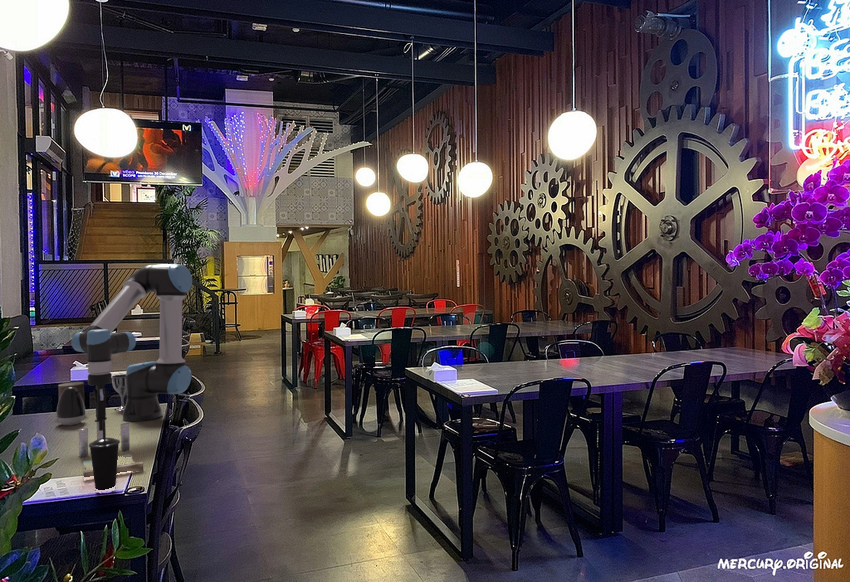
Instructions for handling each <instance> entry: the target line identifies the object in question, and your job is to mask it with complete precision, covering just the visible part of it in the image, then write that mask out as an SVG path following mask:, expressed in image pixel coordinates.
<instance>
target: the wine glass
mask: <svg viewBox="0 0 850 582" xmlns="http://www.w3.org/2000/svg"><path fill="white" fill-rule="evenodd" d="M111 384H112V387H113V389H114V390H115V392H117V393H118V394H119V396H120V401H121V402H120V403H121V405H120V406H119V407H116V408H117V409H124V408H125V404H124V402H125V401H124V400H125V399H124V398H125V395H126V394H127V386H126V374H125V373H123V374H115V375H112V382H111Z"/></svg>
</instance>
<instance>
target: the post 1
mask: <svg viewBox="0 0 850 582" xmlns="http://www.w3.org/2000/svg"><path fill="white" fill-rule="evenodd" d="M88 432H89V430H88V428H87V427H85V428H84V427H83V428H79V429H78V445H79V446H78V450H79V451H78V455H79V458H85V457H88V456H89V433H88Z"/></svg>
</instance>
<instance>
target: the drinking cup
mask: <svg viewBox="0 0 850 582" xmlns="http://www.w3.org/2000/svg"><path fill="white" fill-rule="evenodd" d="M102 421H103V438H101V439H98V440H97V439H95V440H94V441H91V442H89V443H88V448H89V449H90V456H91V457H90V458H91V459H90V460H92V467H93V474H94V480H93V483H94V488H96V489H98V490H105V489H109V488H112V487H114V486H115V485H117V476H116V474H117V460H118V456H119V445H120V444H121V440H119V439H117V438H113V437H106V435H107V434H106V433H107V432H106V431H107V430H106V431H105V426H106V420H102Z"/></svg>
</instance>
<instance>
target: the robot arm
mask: <svg viewBox="0 0 850 582" xmlns="http://www.w3.org/2000/svg"><path fill="white" fill-rule="evenodd" d="M192 285H193V277H192V274H191V271H190V270H189V269H188V267H187V266H186V265H183V264H181V263H180V264H177V263H169V264H168V263H167V264H163V263H162V264H161V263H160V264H157V263H156V264H154V263H153V264H148V265H145V266H142V267H140V268H139V269H137V270H136V271H135V272H133V273H132V274H131V275H130V276H128V278H127V279H126V280H124V282H123V284H122V289H121V290H120V291H119V292H118V293H117V294H116V296H114V298H113V299H112V300H111V301H110V302H109V303H108V304H107V305H106V306H105V308H104V309H103V310H102V311H101V312H100V314H99V315H98V316H97V317H96V318H95V320H93V322H92V323H91V324H90V325H89V326H88V327H87V329H86V330H84V331H80V332H79V331H78V332H75V333H74V335H73V336H72V338H71V343H70V344H71V347H72V349H73V350H74V351H76V352H81V353H85V354H87V364H85V368H87V373H88V375H87V384H88V385H89V386H93V387H94V386H95V388H94V389H93V395H94V402H95V420H94V423H96V440H98V439H101V438H103V421H102V420H105V421H106V420H107V419H108V417H107V414H106V411H107V407H106V406H107V405H106V404H107V394H108V390H107V388H105V386H106V385H109V384H112V376H113V375H112V374H113V373H111V372H113V371H112V370H113V369H112V367H113V366H112V355H115V354H121V353H127V352H130V351H132V350H134V348H135V347H136V344H137V343H136V342H137V341H136V336H135V334H133V333H132V332H131V331H130V332H129V331H120V332H114V330H115V329H116V328H117V326H118V325H119V324H120V323H121V322H122V320H123V319H124V318H125V317H126V316H127V314H128V313H129V312H130V311H131V310H132V308H133V307H134V305H136V304H137V303H138V301H140V300H142V299H144V298H145V297H146V295H147V294H150V293H155V297H156V298H157V299H159V357H158V359H157V360H155V361H154V360H153V361H145V362H140V363H139V362H138V363H134V364H130V365H128V366H127V367H126V371H125V372H126V386H127V392H126V402H125V404H124V406H125V408H124V410H122V411H123V412H122V420H123V421H127V422H144V421H151V420H154V419H155V420H156V419H159V418H160V417H162V416H163V410H162V406H161V404H160V402H159V399H158V394H167V395H180V394H182V393H184V392H185V391H186V390H187V389H188V388H189V387H190V384H191V382H192V371H191V368H190V367H188V366H187V365H186V360H185V358H183V357H182V356H183V355H182V351H183V349H182V348H183V344H182V343H183V341H182V338H183V335H182V334H183V332H182V331H183V300H184V299H186V297H187V292H189V291H190V290H191V288H192ZM158 417H159V418H158ZM143 420H144V421H143ZM106 427H107V426H106V425H105V431H107V430H106Z"/></svg>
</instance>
